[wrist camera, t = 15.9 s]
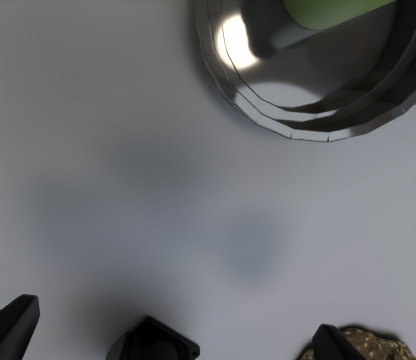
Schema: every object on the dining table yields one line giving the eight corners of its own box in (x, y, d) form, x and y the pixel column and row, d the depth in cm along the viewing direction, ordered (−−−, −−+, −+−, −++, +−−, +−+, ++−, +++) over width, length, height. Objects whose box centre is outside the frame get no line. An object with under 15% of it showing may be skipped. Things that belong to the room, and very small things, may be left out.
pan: (457, 9, 16) (546, -16, 12) (297, 165, 20) (323, 188, 15) (317, -198, 13) (372, -330, 9) (152, 29, 16) (135, 10, 12)
